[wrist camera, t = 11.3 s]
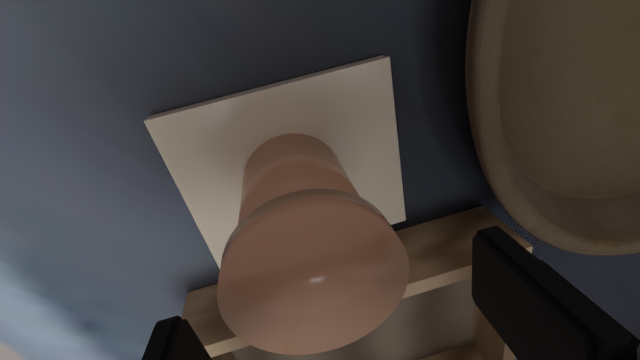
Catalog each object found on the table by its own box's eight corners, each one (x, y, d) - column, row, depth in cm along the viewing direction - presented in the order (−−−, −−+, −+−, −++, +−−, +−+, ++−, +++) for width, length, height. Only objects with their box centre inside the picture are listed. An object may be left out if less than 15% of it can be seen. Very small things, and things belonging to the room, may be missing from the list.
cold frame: (482, 205, 21) (532, 246, 17) (475, 336, 28) (510, 385, 25) (188, 292, 20) (170, 356, 16) (257, 405, 27) (257, 469, 23)
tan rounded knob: (336, 112, 15) (401, 183, 8) (355, 210, 18) (415, 323, 11) (217, 144, 15) (181, 246, 8) (256, 239, 18) (254, 374, 11)
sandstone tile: (382, 55, 16) (389, 56, 15) (399, 212, 20) (405, 220, 19) (150, 115, 15) (143, 121, 14) (224, 263, 20) (222, 274, 19)
